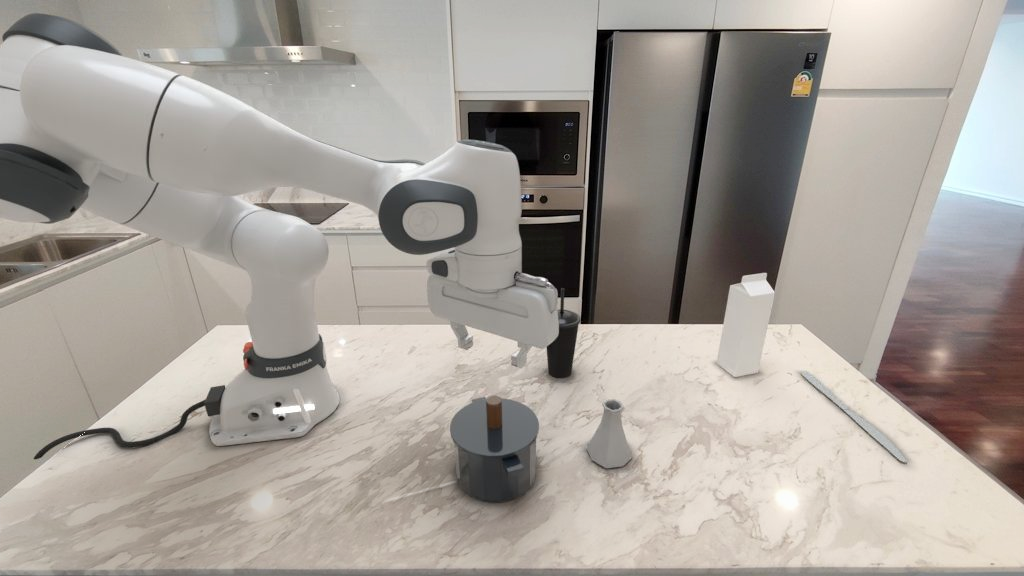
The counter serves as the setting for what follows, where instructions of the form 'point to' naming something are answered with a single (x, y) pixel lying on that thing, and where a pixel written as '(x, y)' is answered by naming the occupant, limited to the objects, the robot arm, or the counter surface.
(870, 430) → the butter knife
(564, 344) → the drinking cup
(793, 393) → the counter surface
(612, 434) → the flask
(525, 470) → the pot
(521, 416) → the lid
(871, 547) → the counter surface
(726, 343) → the milk
